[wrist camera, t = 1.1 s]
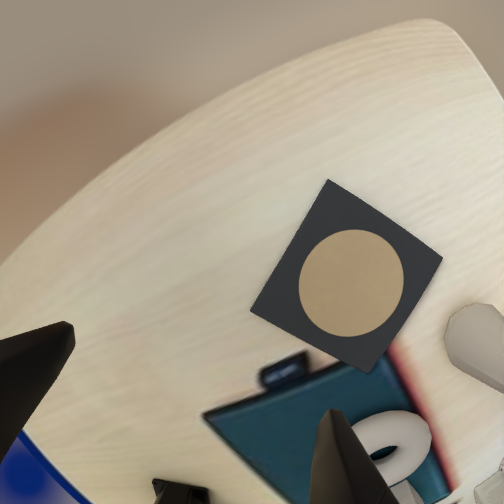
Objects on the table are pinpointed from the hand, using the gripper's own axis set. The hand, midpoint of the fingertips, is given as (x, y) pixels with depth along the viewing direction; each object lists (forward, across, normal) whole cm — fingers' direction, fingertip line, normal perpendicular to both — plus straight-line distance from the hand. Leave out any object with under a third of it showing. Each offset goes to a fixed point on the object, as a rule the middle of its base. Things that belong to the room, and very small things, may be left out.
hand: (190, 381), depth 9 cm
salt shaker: (+14, -20, +2) cm, 24 cm away
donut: (+11, -17, +15) cm, 25 cm away
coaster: (+14, -8, +1) cm, 16 cm away
